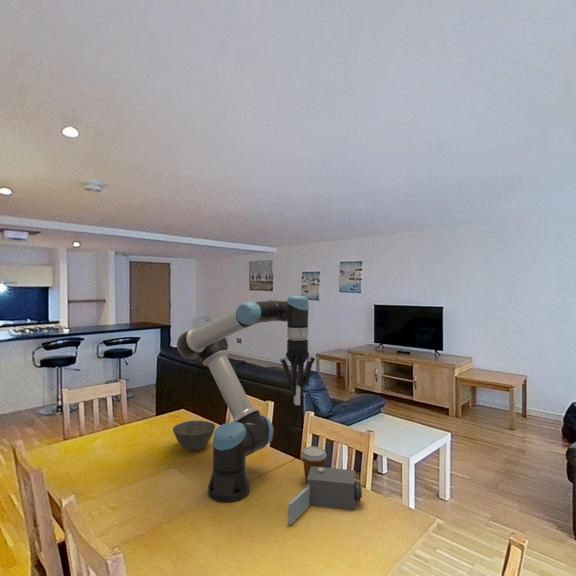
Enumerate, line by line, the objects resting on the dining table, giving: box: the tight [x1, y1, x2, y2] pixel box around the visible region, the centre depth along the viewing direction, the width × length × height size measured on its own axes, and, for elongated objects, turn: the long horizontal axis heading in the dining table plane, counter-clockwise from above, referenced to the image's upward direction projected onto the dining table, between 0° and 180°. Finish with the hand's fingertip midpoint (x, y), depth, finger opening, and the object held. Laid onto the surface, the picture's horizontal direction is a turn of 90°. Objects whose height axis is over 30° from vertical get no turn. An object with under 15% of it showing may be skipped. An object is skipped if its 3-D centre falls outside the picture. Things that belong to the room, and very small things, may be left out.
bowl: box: [172, 420, 216, 452], centre depth 182 cm, size 19×19×10 cm
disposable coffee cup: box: [301, 445, 328, 485], centre depth 152 cm, size 10×10×12 cm
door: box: [287, 484, 311, 526], centre depth 130 cm, size 13×2×7 cm, turn 149°
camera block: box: [306, 466, 363, 512], centre depth 140 cm, size 18×10×10 cm, turn 79°
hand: (296, 403), depth 144 cm, fingers closed
